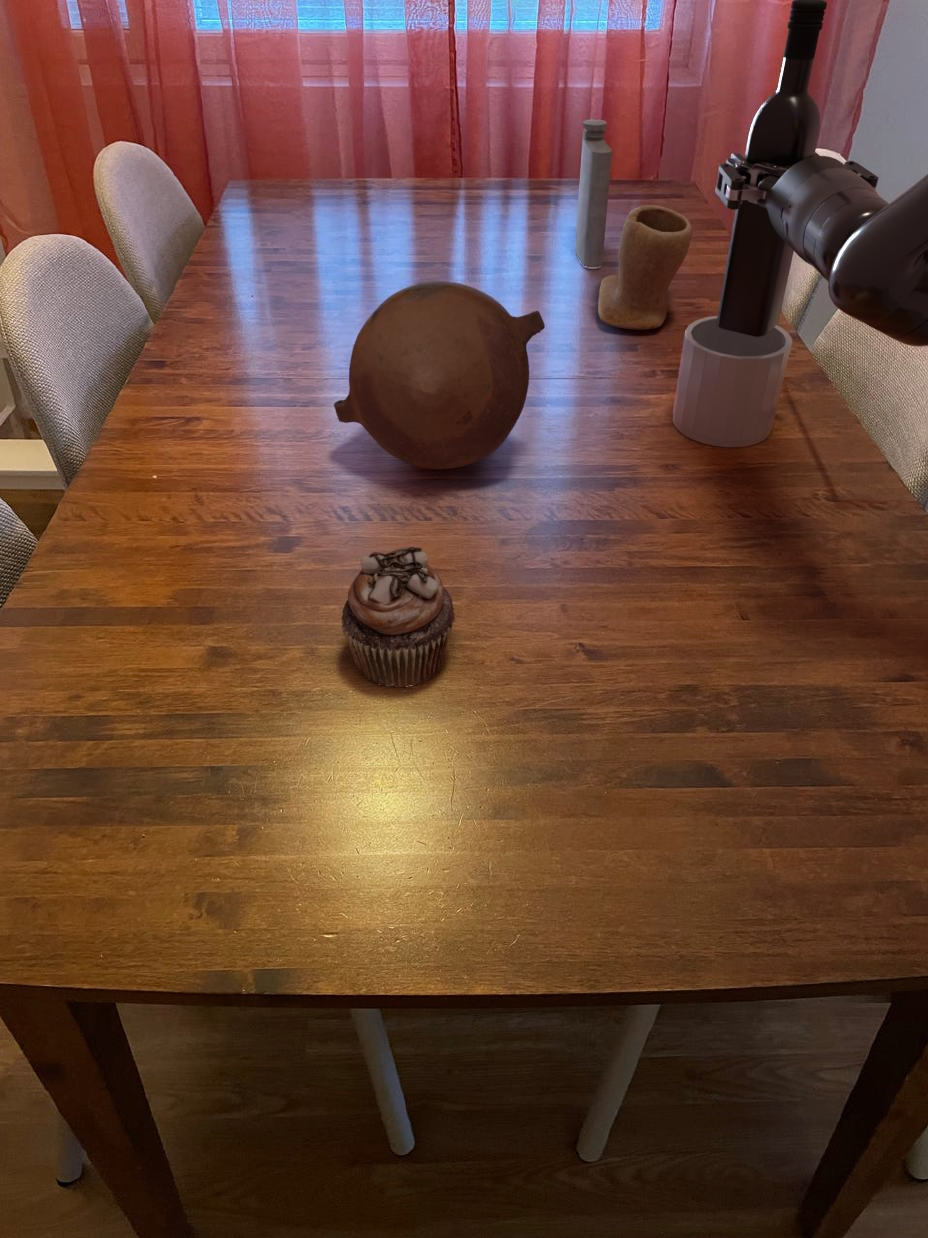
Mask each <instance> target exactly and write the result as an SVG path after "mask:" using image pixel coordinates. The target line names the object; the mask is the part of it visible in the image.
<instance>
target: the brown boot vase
mask: <svg viewBox="0 0 928 1238" xmlns="http://www.w3.org/2000/svg"><path fill="white" fill-rule="evenodd" d="M692 236H693V226H692V223H691V222H690V221H689V219H688V218H687V217H685V216H684V215H683V214H681V213H678V212H677V211H676V210H674V209H670V208H667V207H666V206H665V207H664V206H661V205H656V204H655V205H653V204H646V205H645V204H644V205H640V206H637V207H635V208H632V210H631V211H630V212H629V213H628V215H627V216H626V218H625V220H624V224H623V227H622V231H621V237H620V241H619V247H618V251H617V252H618V254H617V255H618V273H614V274H609V275H608V276H604V277H603V278H602V280H601V282H600V287H599V291H598V292H599V293H598V300H597V301H598V302H597V305H598V306H597V313H598V316H599V318H600V320H601V321H602V322H603V323H604V324H606V325H608V326H611V327H615V328H620V329H625V330H635V331H636V330H639V331H640V330H641V331H643V330H644V331H645V330H654V329H657V328H660V327H661V326H662V325H663V324H664V322H665V320H666V318H667V313H668V305H667V300H666V299H667V298H666V293H667V292H668V289H669V287H670V284H671V283H672V281H673V279H674V277H675V276H676V274H677V273H678V271H679V269H680V268H681V266H682V265H683V262H684V260H685V259H686V257H687V254H688V251H689V249H690V245H691V241H692Z"/></svg>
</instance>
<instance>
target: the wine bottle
mask: <svg viewBox="0 0 928 1238" xmlns="http://www.w3.org/2000/svg"><path fill="white" fill-rule="evenodd" d="M827 6H828V2H827V1H825V0H792V1H791V4H790V9H791V10H790V14H789V19H788V20H789V21H788V22H787V26H786V28H787V29H788V30H787V36H786V42H785V46H784V52H783V59H782V62H781V63H782V65H781V71H780V74H779V78H778V79H779V80H778V85H777V89H776V90H775V92H774V93H771V95H770V96H768V98H767V99H766V100H765V101H764V102H762V104H761V106H760V107H759V109H758V110H757V112H756V113H755V115H754V117H753V120H752V123H751V125H750V129H749V132H748V136H747V141H746V147H745V149H746V150H745V154H744V158H745V159H746V160H747V161H748V162H749V163H751V164H757V163H762V162H768V163H771V164H775V165H778V166H782V167H784V166H788V165H789V166H793V165H795V164H796V163H798V162H800V161H802V160H804V159H806V158H810V157H814V155H815V152H816V149H817V146H818V141H819V137H820V131H821V130H820V129H821V113H820V109H819V106H818V104H817V102H816V101H815V99H814V98H813V96H812V95H811V94H810V93H809V87H810V80H811V76H812V70H813V66H814V65H813V64H814V61H815V60H814V59H815V56H816V51H817V47H818V42H819V37H820V31H821V30H823V26H824V23H823V21H824V16H825V14H826V13H825V12H826V11H825V10H826V9H827ZM769 175H770V174H769V173H766V176H765V178H766V177H768V176H769ZM750 180H751V174H750V173H748V174H747V180H746V184H748V185H749V186H750ZM794 253H795V251H794V250H793V249H792V248H791V247H790V246H789V245H788V244H787V243H786V242H785V241H784V240H783V239H782V237H781V236H780V235H779V234H778V233H777V232H776V231H775V229H774V227H773V225H772V223H771V220H770V217H769V213H768V210H767V209H766V208H764V207H761V206H759V205H758V204H755V203H752V202H749V201H748V200H742V204H741V205H740V208H739V209H735V212H734V218H733V223H732V229H731V236H730V240H729V247H728V253H727V259H726V265H725V270H724V276H723V282H722V288H721V294H720V298H719V299H720V300H719V305H718V311H717V315H716V316H717V322H716V324H717V326H718V327H719V328H721V329H724V330H728V331H732V332H736V333H740V334H745V335H749V336H753V337H762V336H764V335H766V334H767V333H768V332H769V331H770V330H772V329H773V328H774V327H775V326H776V325H777V326H778V324H779V322H780V317H781V313H782V308H783V303H784V299H785V295H786V290H787V285H788V281H789V276H790V271H791V266H792V261H793V256H794Z"/></svg>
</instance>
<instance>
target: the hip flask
mask: <svg viewBox="0 0 928 1238" xmlns="http://www.w3.org/2000/svg"><path fill="white" fill-rule="evenodd" d="M582 123H583V124H582V128H583V131H582V141H581V142H582V143H581V155H580V156H581V157H580V170H579V171H580V172H579V185H578V200H577V213H576V229H575V240H574V241H575V243H574V249H575V248H576V251H575V254H576V253H577V256H578V258H579V260H580V261H581V263H582V264H583V265H584V266H587V267H599V266H602V267H603V259H604V248H605V237H606V225H607V214H608V204H609V203H608V202H609V191H610V181H611V180H610V179H611V169H612V159H613V158H612V157H613V149H612V148H610V146H609V145H608V144H607V142H606V141H605V133H606V132H605V130H607V125H608V122H607V121H606V120H603V119H586V120H584V121H582ZM577 256H576V257H577ZM578 258H577V259H578ZM579 260H578V261H579Z"/></svg>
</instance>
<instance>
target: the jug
mask: <svg viewBox="0 0 928 1238" xmlns="http://www.w3.org/2000/svg"><path fill="white" fill-rule="evenodd" d="M545 327H546V324H545V322H544V319H543V317H542V315H541V313H540V311H539V310H535V311H532V312H530V313H527V314H524V315H520V316H513V315H511V314H510V312H509V311H508V310H507V308H505V307H504V305H502V304H501V303H500V302H499V301H498V300H496V299H495V298H494V297H493V296H491V295H489V294H487V293H486V292H484V291H481V290H479V289H478V288H475V287H473V286H470V285H467V284H463V283H460V282H455V281H445V280H433V281H425V282H419V283H416V284H413V285H409V286H407V287H404V288H403V289H402V288H401V289H400V290H398V291H396V292H394V293H393V294H391V295H390V296H389V297H387V298H386V299H385V300H383V301H382V302H381V303H380V304H379V305H378V306H377V308H376V309H375V310H374V311H373V312H372V313H371V315H370V316H369V317H368V318H367V319H366V321H365V322H364V323H363V325H362V327H361V328H360V330H359V332H358V334H357V336H356V338H355V341H354V344H353V347H352V350H351V355H350V361H349V367H348V387H349V390H348V394H347V396H346V398H344V399H338V400H337V401H335V402H334V403H333V408H334V411H335V415H336V416H337V420H338V422H340V423H345V424H349V423H357V424H360V425H361V426H362V427H363V428H364V429H365V430H366V432H367V433H368V434H369V435H370V436H371V438H373V440H374V441H375V442H376V444H378V445H379V446H380V448H382V449H383V450H384V451H385V452H387V453H388V454H390V455H391V456H392V457H394V458H396V459H398V460H400V461H401V462H404V463H406V464H409V465H412V466H414V467H418V468H422V469H429V470H448V469H457V468H461V467H466V466H469V465H471V464H474V463H477V462H479V461H481V460H483V459H485V458H486V457H489V456H490V455H491V454H493V453H494V452H495V451H497V450H498V449H499V447H500V446H501V445H503V443H504V442H505V440H507V438H508V437H509V436H510V433H511V432H512V431H513V429H514V428H515V426H516V424H517V422H518V420H519V418H520V417H521V414H522V412H523V409H524V407H525V403H526V400H527V396H528V390H529V384H530V363H529V354H528V349H527V345H528V343H529V342H530V340H532V338H533V337H534V336H536V335H537V334H539V333H541V332H542V331H543V330H544V329H545Z"/></svg>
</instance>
